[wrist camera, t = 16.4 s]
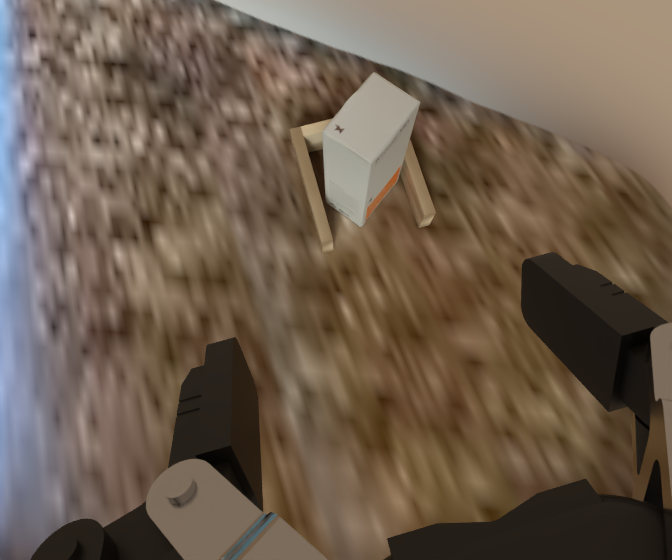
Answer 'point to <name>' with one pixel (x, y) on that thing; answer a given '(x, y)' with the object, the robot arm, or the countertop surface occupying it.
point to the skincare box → (367, 147)
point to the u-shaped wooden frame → (303, 144)
